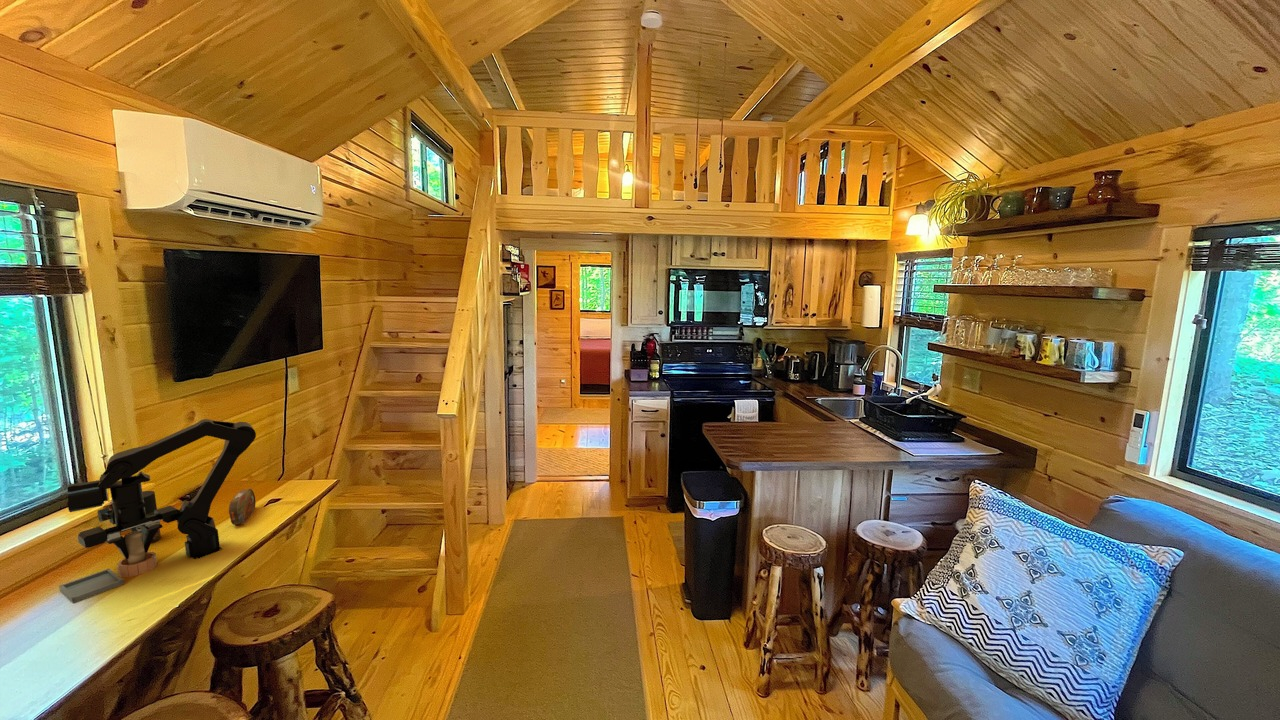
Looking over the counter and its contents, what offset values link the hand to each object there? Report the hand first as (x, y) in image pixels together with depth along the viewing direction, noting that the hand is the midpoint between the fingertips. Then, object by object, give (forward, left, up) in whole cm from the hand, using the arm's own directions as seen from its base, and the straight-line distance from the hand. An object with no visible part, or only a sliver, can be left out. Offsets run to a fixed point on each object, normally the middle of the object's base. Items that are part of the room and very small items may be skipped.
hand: (136, 555), depth 136 cm
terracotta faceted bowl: (0, 0, -4) cm, 4 cm away
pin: (0, 0, -4) cm, 4 cm away
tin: (-29, -11, -5) cm, 31 cm away
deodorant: (-7, -17, -5) cm, 19 cm away
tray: (+9, +1, -4) cm, 10 cm away
